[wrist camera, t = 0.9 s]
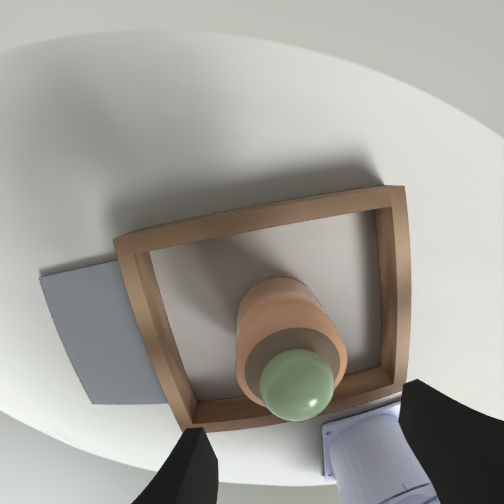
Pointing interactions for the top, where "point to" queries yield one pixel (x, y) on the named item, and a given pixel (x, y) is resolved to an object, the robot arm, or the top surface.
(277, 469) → the top surface
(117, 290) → the mat
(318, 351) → the terracotta pot
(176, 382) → the frame
